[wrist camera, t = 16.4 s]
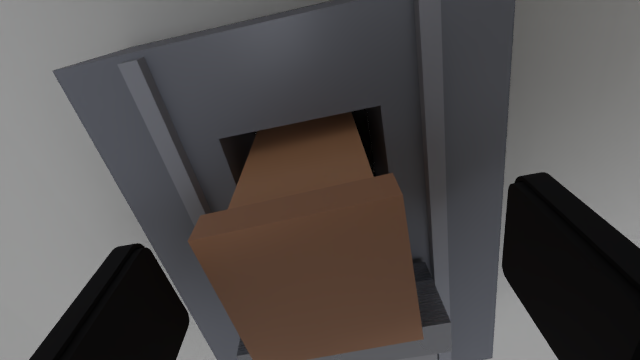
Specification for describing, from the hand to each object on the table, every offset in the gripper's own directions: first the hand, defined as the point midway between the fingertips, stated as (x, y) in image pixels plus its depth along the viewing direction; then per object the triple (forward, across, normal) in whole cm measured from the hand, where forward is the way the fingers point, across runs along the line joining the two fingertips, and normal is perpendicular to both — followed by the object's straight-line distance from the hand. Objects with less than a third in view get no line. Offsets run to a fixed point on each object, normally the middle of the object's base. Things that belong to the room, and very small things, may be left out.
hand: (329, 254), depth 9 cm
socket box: (+9, +1, +4) cm, 10 cm away
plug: (+9, +1, +1) cm, 9 cm away
